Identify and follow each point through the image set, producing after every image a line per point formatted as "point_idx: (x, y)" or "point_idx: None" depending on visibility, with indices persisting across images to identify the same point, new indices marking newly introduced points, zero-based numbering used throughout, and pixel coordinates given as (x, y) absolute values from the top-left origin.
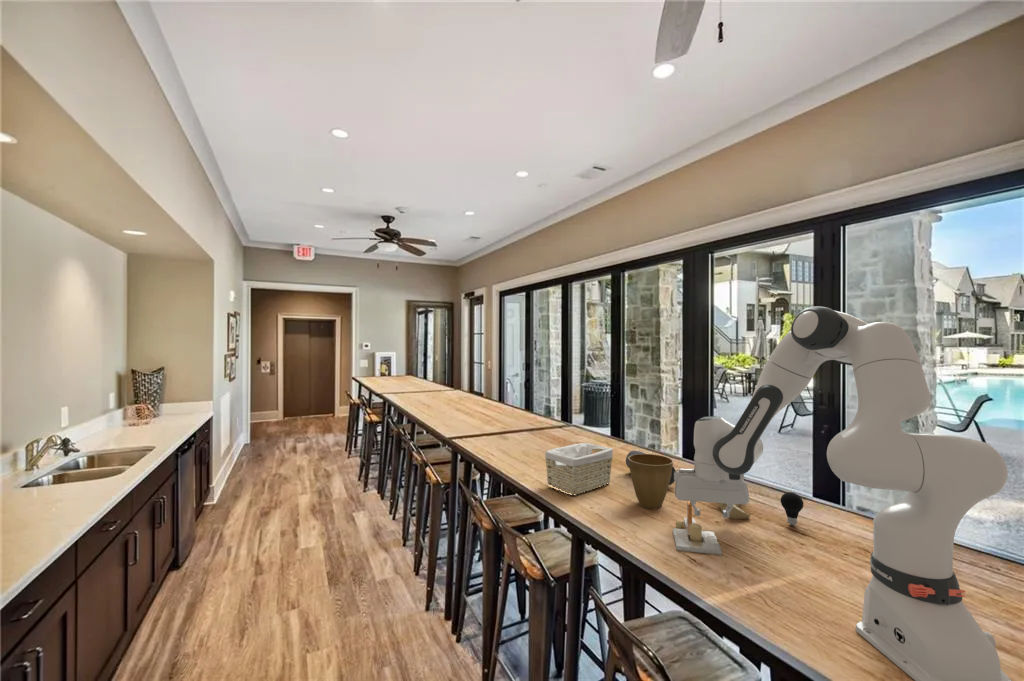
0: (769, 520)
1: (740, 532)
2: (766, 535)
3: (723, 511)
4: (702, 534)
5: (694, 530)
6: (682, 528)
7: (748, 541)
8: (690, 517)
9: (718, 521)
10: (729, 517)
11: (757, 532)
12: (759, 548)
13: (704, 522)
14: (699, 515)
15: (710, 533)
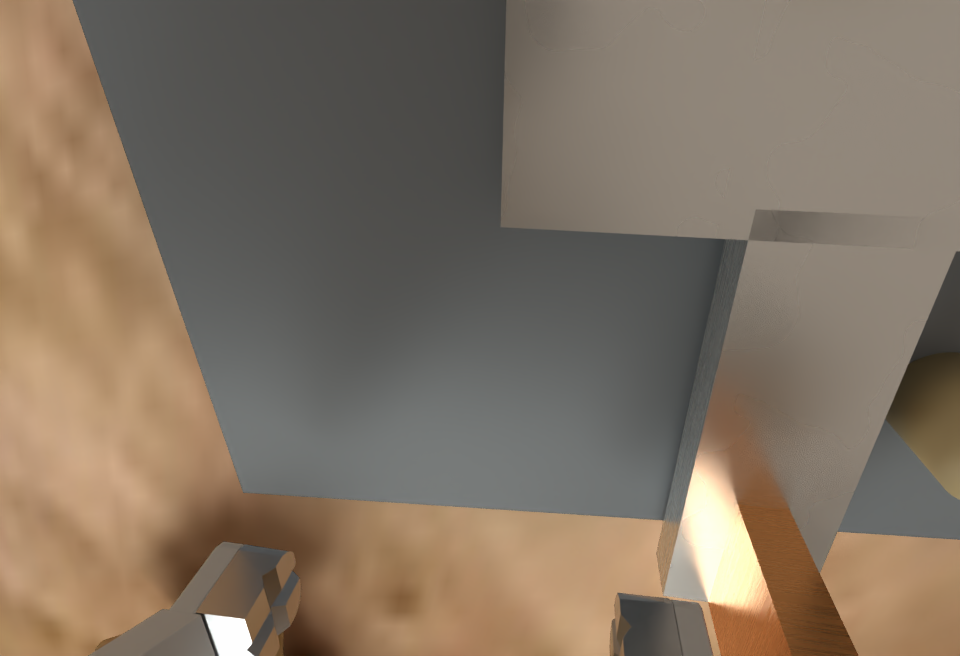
0: (37, 619)
1: (218, 432)
2: (15, 398)
3: (250, 639)
4: (738, 71)
5: None
6: (926, 375)
7: (143, 248)
8: (783, 563)
9: (387, 607)
10: (278, 635)
11: (87, 444)
12: (26, 83)
13: (516, 592)
14: (630, 595)
15: (570, 150)
